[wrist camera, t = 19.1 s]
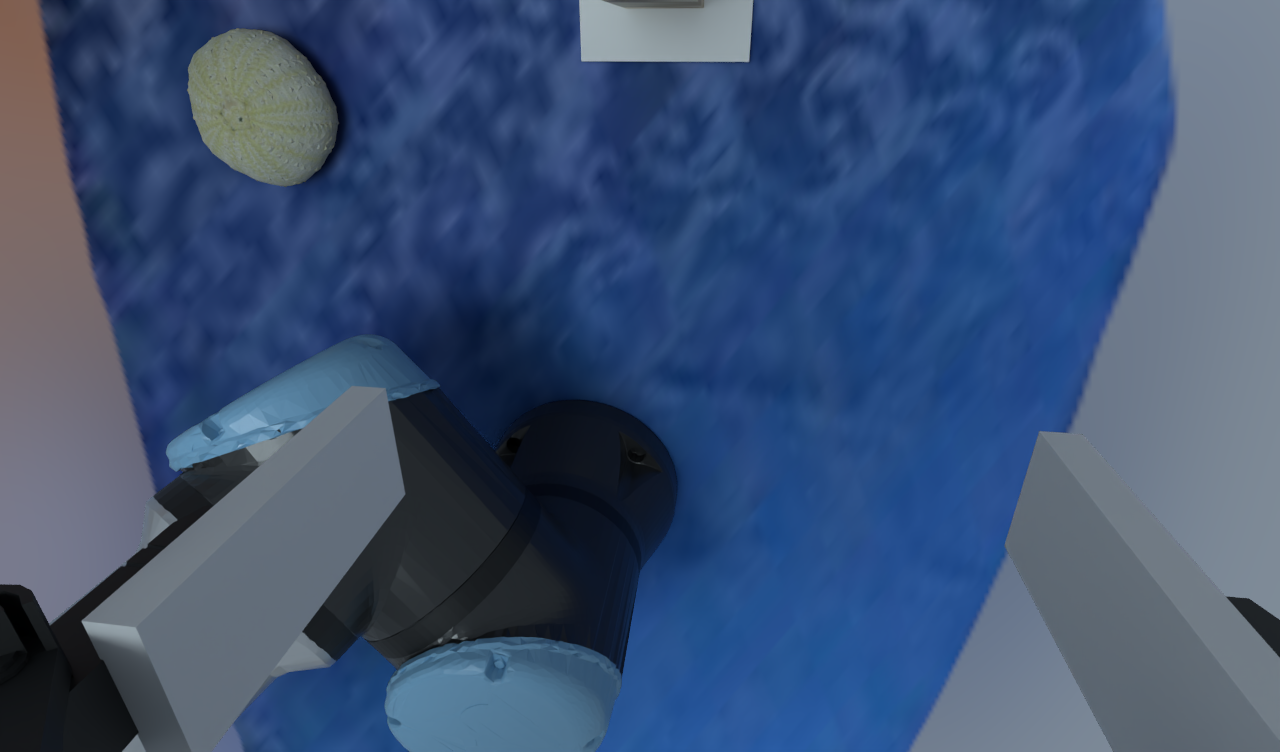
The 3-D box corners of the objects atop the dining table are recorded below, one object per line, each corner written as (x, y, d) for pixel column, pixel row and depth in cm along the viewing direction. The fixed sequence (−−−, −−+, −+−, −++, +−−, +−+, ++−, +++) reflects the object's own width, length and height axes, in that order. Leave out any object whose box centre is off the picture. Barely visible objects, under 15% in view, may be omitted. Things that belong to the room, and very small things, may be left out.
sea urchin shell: (281, -7, 40) (268, 98, 37) (367, 86, 47) (361, 181, 44) (159, 39, 42) (138, 142, 39) (260, 121, 49) (248, 214, 46)
